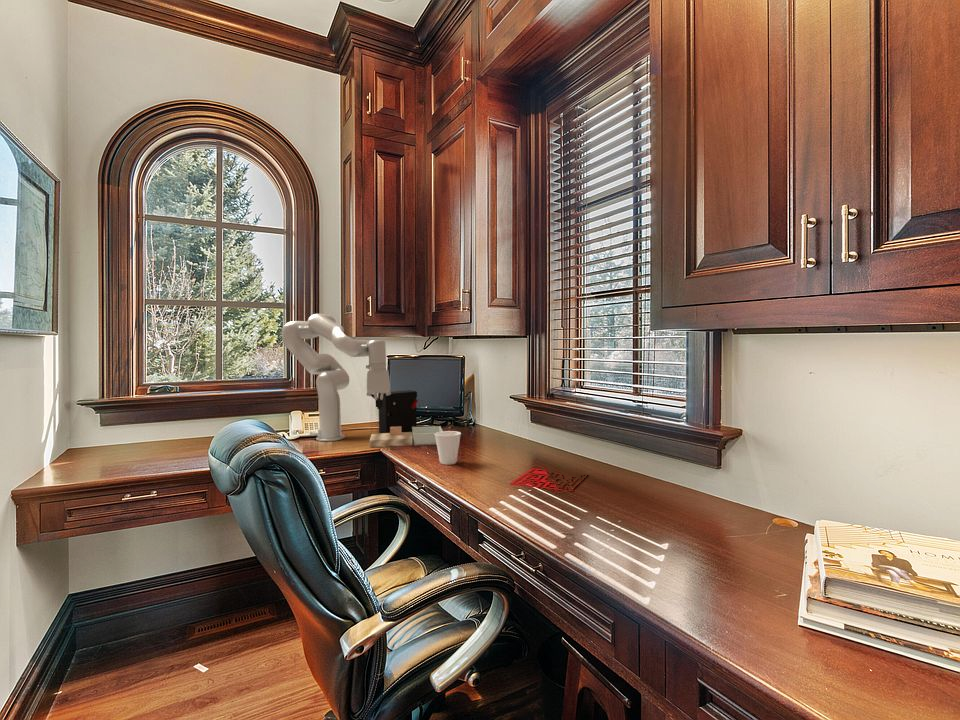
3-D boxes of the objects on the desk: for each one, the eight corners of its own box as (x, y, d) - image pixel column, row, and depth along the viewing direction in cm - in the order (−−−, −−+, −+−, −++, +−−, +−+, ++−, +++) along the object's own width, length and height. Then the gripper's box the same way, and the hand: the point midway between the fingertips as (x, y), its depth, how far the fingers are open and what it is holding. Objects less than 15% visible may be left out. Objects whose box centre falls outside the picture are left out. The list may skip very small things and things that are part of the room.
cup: (462, 459, 192) (462, 430, 191) (460, 466, 182) (460, 435, 181) (436, 459, 192) (435, 431, 191) (433, 466, 182) (432, 436, 181)
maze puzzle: (509, 485, 159) (509, 483, 159) (532, 470, 176) (532, 468, 176) (571, 493, 150) (571, 491, 150) (588, 476, 168) (588, 474, 168)
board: (369, 447, 215) (369, 440, 215) (371, 440, 230) (371, 433, 230) (412, 445, 218) (412, 438, 218) (411, 438, 233) (411, 432, 233)
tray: (413, 445, 217) (413, 434, 217) (412, 438, 234) (412, 427, 234) (443, 444, 219) (443, 432, 219) (440, 436, 236) (440, 426, 236)
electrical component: (408, 428, 258) (407, 389, 257) (418, 431, 250) (418, 391, 249) (377, 433, 247) (376, 392, 246) (387, 436, 239) (386, 394, 238)
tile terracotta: (390, 435, 225) (390, 428, 225) (390, 433, 230) (390, 426, 230) (401, 434, 226) (401, 428, 226) (401, 432, 231) (401, 426, 231)
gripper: (359, 368, 221) (361, 410, 222) (394, 367, 223) (396, 408, 224) (361, 367, 228) (362, 408, 229) (394, 366, 231) (396, 406, 231)
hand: (379, 408), depth 226 cm, fingers closed
